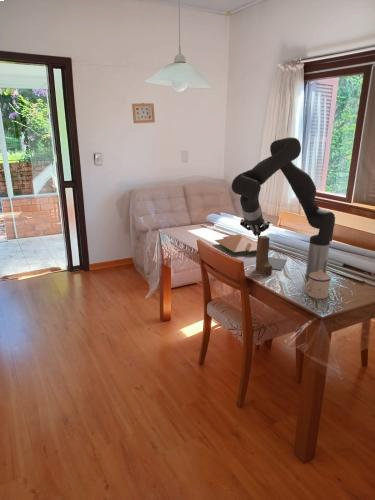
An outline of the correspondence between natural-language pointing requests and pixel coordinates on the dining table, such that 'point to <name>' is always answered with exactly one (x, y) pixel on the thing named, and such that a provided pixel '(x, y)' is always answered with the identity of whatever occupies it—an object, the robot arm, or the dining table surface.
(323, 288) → the teacup with lid
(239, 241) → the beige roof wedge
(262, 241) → the wooden block
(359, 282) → the dining table surface
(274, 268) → the mat
